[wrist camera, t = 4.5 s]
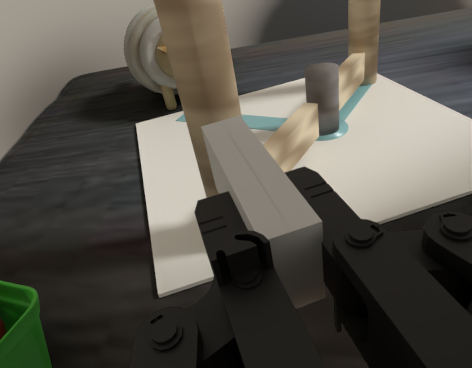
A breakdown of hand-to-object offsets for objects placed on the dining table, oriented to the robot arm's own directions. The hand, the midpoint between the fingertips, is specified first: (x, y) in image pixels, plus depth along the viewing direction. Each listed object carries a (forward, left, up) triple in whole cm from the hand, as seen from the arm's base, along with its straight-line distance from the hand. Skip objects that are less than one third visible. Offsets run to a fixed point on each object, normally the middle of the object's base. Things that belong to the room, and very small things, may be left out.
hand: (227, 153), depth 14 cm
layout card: (-9, -16, -10) cm, 21 cm away
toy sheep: (-1, -36, -10) cm, 38 cm away
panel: (-5, -10, -9) cm, 14 cm away
